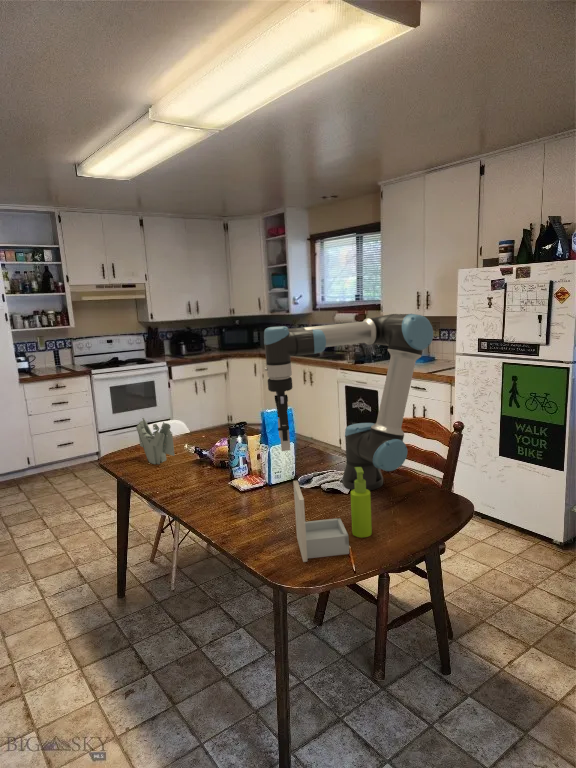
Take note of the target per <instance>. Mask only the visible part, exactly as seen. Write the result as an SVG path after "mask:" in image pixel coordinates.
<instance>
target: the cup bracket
mask: <svg viewBox="0 0 576 768" xmlns="http://www.w3.org/2000/svg"><path fill="white" fill-rule="evenodd" d="M292 484H293V495H294V496H293V497H294V511H295V527H296V528H295V529H296V530H295V531H296V539H297V543H298V548H299V551H300V555H301V558H302V562H303V563H306V562H308V559H314V558H315V559H316V558H324V557H333V556H343V555H349V554H350V541H349V539H350V538H349V534H348V531H347V530H346V528H345V525H344V523H343V521H342V519H341V518H340V517H337V518H328V519H327V518H326V519H319V520H311V521H310V520H309V521H306V515H305V514H306V513H305V510H306V509H305V498H304V496H303V494H302V490H301V487H300V484H299V482H298V480H293V483H292Z"/></svg>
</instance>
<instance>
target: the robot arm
mask: <svg viewBox="0 0 576 768" xmlns="http://www.w3.org/2000/svg"><path fill="white" fill-rule="evenodd" d="M263 339H264V340H263V344H264V351H265V362H266V363H265V364H266V367H264V371H266V375H267V376H266V377H267V378H268V379H267V389H268V391H269V392H272V393H275V395H274V403H275V407H276V411H277V412H276V413H277V431H278V438H279V439H280V450H281V452H287V451H291V439H290V438H291V437H290V425H289V416H288V415H289V414H288V409H289V403H288V402H289V396H288V394H286V393H285V392H289V391H291V390H293V377H292V360H291V357H296V356H307V355H315V354H320V353H322V352H324V351H325V349H326V348H328V347H337V346H339V347H340V346H348V345H355V344H363V343H364V344H366V345H367V346H371V345H381V346H387V352H388V353H389V355H390V359H389V363H388V367H387V371H386V373H387V374H386V378H385V381H384V386H383V390H382V394H381V399H380V404H379V409H378V414H377V419H376V422H375V423H373V422H359V423H353V424H350V425H347V426H346V427H345V430H344V431H345V433H344V440H345V456H346V457H345V458H346V462H345V463H346V465H345V468H344V471H343V475H342V486H343V487H345V488H346V489H348V490H351V491H352V490H353V489H355V485H354V481H355V480H356V479H357V472H356V470H355V468H354V467H362V469H363V472H364V474H363V479H364V480H366V489H368V490H369V491H373V490H377V489H380V488H381V487H383V484H384V477H383V474H382V472H381V470H383V471H385V472H393V471H396V470H397V469H398V468H400V467H401V466H403V464H404V463H405V461H406V459H407V457H408V456H407V455H408V448H407V445H406V443H405V442H404V437H405V432H404V431H403V429H402V427H403V426H402V425H403V421H404V416H405V412H406V407H407V402H408V399H409V394H410V389H411V384H412V379H413V375H414V371H415V365H416V362H417V361H418V360H419V359H420V358H421V357H422V355H423V351H424V350H425V349H427V348H428V347H429V346H430V345H431V343H432V341H433V339H434V329H433V325H432V324H431V322H430V320H429V319H428V318H427V317H426V316H424V315H422V314H421V315H420V314H415V313H391V314H390V313H389V314H385V315H381V316H375V317H369V318H368V317H367V318H365V319H363V321H356V322H355V321H354V322H346V323H336V324H325V325H324V324H323V325H316V326H305V327H293V328H289V327H287V326H284V325H283V326H282V325H281V326H270V327H267V328H265V329H264V331H263Z"/></svg>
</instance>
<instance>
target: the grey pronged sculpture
mask: <svg viewBox="0 0 576 768" xmlns="http://www.w3.org/2000/svg"><path fill="white" fill-rule="evenodd" d="M135 428H136V431H137V434H138V439H139V446H140V447H142V448H143V450H144V454H145V456H146V458H147V462H149V463H150V464H152V465H160V464H163V462H166V461H167V455H170V456H173V457H174V456H175V447H174V439H173V432H172V431H171V424H170V423H168V422H166V423H165V421H163V422H162V424H161V427H159V425H158V424H157V423H154V424H152V429H153V430H154V431H153V432H152V431H151V428H150V426H149V424H148V422H147V420H146V419H145V418H144V417H142V420H141V421H139V423H138V424H137V425H136V427H135Z"/></svg>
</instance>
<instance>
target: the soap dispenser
mask: <svg viewBox="0 0 576 768" xmlns="http://www.w3.org/2000/svg"><path fill="white" fill-rule="evenodd" d="M354 468H355V470H356V472H357V479H356V480H355V481H354V485H355V489H353V490H351V491H350V508H351V509H350V514H351V517H350V518H351V533H352V535H353V536H354V537H357V538H360V539H361V538H362V539H364V538H369V537H370V536H371V535H373V534H372V533H373V531H372V530H373V528H372V527H373V526H372V506H371V505H372V499H371V497H372V496H371V495H372V494H371V490H368V489H366V480H364V479H363V474H364V472H363V469H362V467H354Z"/></svg>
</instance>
